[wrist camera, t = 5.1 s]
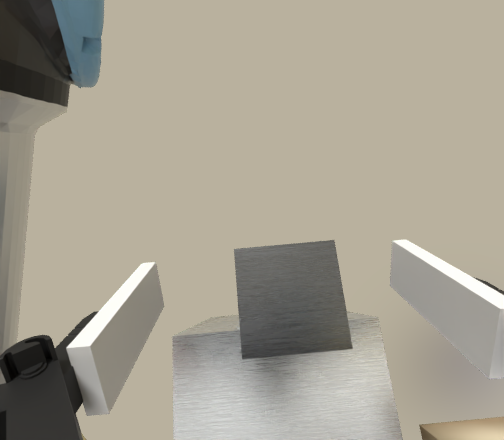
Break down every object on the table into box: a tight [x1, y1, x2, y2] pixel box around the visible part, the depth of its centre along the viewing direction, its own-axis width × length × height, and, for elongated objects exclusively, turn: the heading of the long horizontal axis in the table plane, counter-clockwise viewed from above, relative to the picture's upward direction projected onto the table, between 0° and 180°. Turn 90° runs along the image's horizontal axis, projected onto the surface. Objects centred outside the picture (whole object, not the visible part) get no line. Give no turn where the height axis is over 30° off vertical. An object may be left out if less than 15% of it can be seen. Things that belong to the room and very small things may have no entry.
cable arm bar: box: [234, 240, 353, 360], centre depth 21 cm, size 22×6×6 cm, turn 0°
